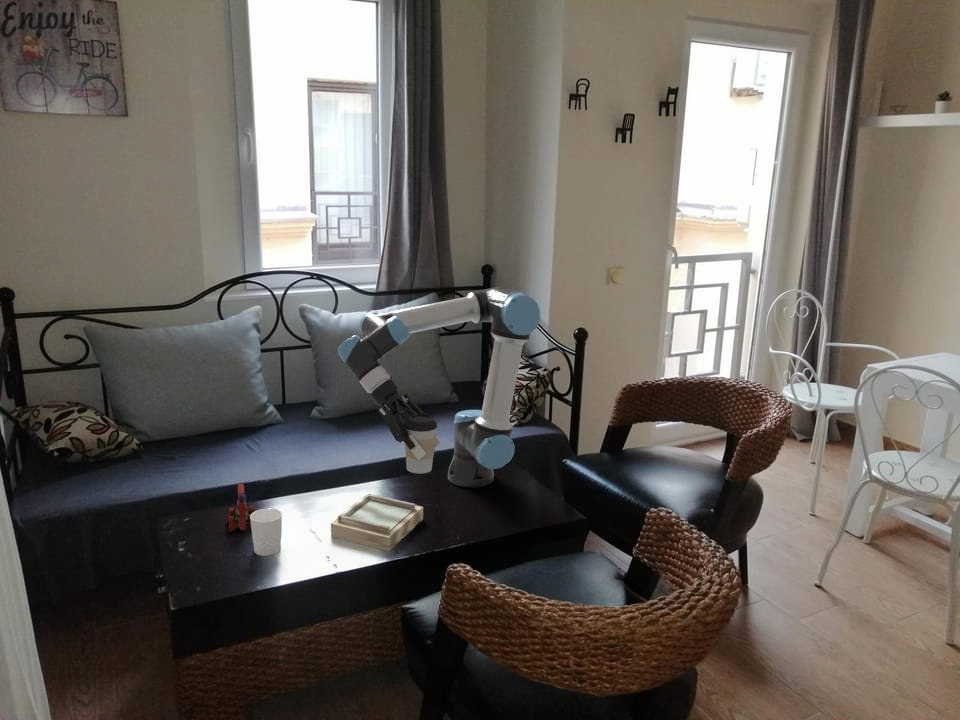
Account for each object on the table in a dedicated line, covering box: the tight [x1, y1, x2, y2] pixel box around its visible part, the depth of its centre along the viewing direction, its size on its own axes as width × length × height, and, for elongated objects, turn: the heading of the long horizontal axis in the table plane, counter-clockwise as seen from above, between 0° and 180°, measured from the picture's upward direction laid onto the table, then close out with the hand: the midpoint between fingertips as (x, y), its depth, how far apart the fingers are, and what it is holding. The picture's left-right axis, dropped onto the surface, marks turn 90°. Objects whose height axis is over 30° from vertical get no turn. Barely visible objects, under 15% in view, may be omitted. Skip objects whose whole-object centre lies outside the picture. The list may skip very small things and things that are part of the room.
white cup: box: [250, 507, 283, 557], centre depth 188 cm, size 8×8×10 cm
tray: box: [330, 493, 424, 552], centre depth 202 cm, size 20×18×6 cm
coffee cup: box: [404, 412, 438, 474], centre depth 197 cm, size 9×9×15 cm
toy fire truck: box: [228, 483, 256, 532], centre depth 201 cm, size 7×12×10 cm, turn 18°
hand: (430, 451), depth 196 cm, fingers closed on coffee cup, 9 cm apart
